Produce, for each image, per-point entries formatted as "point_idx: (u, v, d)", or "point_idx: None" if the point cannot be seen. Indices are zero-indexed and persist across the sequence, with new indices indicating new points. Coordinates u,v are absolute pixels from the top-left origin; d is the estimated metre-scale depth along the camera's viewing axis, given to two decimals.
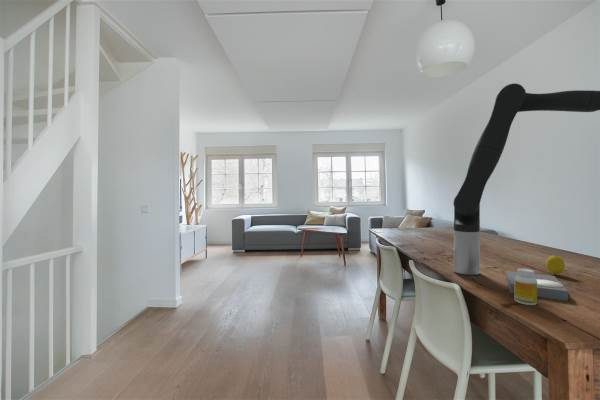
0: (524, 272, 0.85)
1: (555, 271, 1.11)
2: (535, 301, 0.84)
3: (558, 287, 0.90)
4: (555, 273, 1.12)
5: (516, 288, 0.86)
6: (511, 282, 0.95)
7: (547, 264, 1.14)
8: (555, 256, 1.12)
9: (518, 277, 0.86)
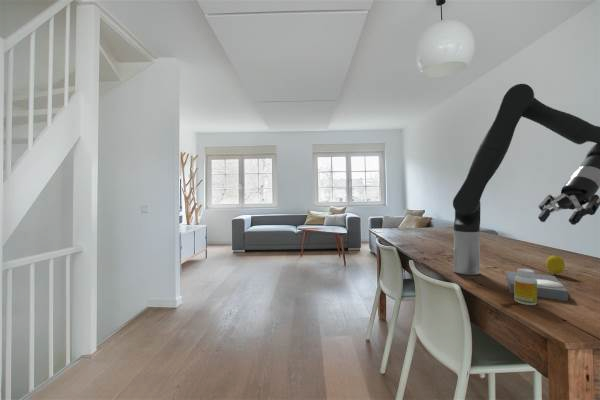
0: (524, 272, 0.85)
1: (555, 271, 1.11)
2: (535, 301, 0.84)
3: (558, 287, 0.90)
4: (555, 273, 1.12)
5: (516, 288, 0.86)
6: (511, 282, 0.95)
7: (547, 264, 1.14)
8: (555, 256, 1.12)
9: (518, 277, 0.86)
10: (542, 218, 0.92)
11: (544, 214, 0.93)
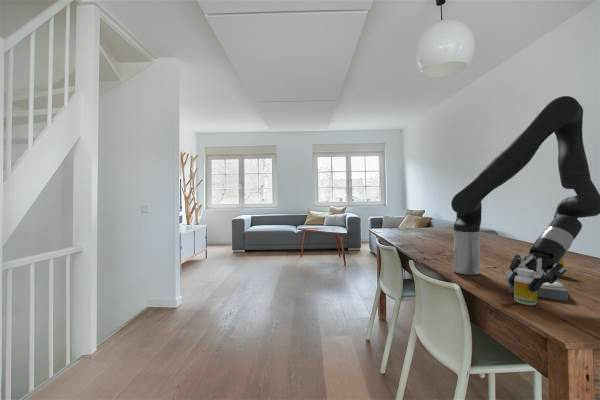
0: (524, 272, 0.85)
1: None
2: (535, 301, 0.84)
3: (558, 287, 0.90)
4: None
5: (516, 288, 0.86)
6: None
7: None
8: None
9: (518, 277, 0.86)
10: (512, 282, 0.89)
11: (514, 277, 0.89)
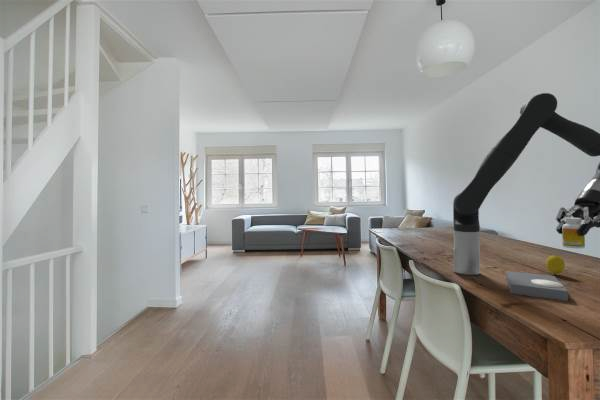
0: (572, 219, 0.94)
1: (555, 271, 1.11)
2: (583, 245, 0.93)
3: (558, 287, 0.90)
4: (555, 273, 1.12)
5: (564, 234, 0.95)
6: (511, 282, 0.95)
7: (547, 264, 1.14)
8: (555, 256, 1.12)
9: (566, 224, 0.95)
10: (560, 230, 0.97)
11: (561, 226, 0.97)
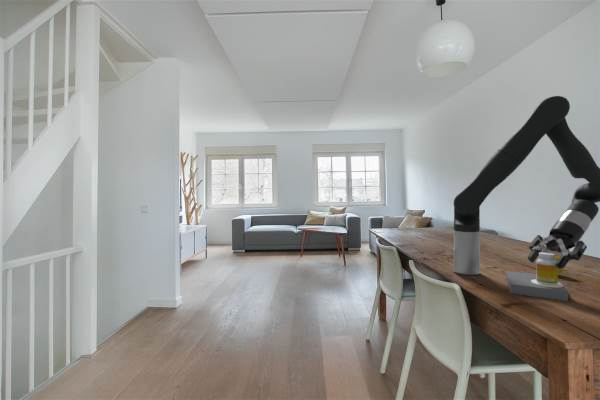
0: (546, 255, 0.92)
1: None
2: (556, 281, 0.91)
3: (558, 287, 0.90)
4: None
5: (538, 270, 0.94)
6: (511, 282, 0.95)
7: None
8: (555, 256, 1.12)
9: (540, 260, 0.94)
10: (531, 259, 0.97)
11: (533, 255, 0.97)
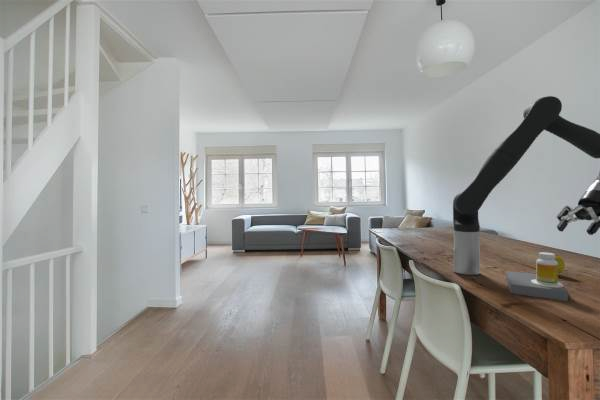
0: (546, 255, 0.92)
1: None
2: (556, 281, 0.91)
3: (558, 287, 0.90)
4: None
5: (538, 270, 0.94)
6: (511, 282, 0.95)
7: None
8: (555, 256, 1.12)
9: (540, 260, 0.94)
10: (560, 228, 1.00)
11: (562, 224, 1.00)
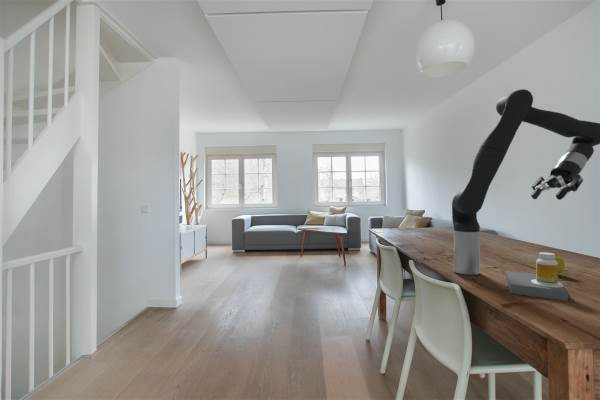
0: (546, 255, 0.92)
1: None
2: (556, 281, 0.91)
3: (558, 287, 0.90)
4: None
5: (538, 270, 0.94)
6: (511, 282, 0.95)
7: None
8: (555, 256, 1.12)
9: (540, 260, 0.94)
10: (534, 196, 1.10)
11: (535, 192, 1.10)
